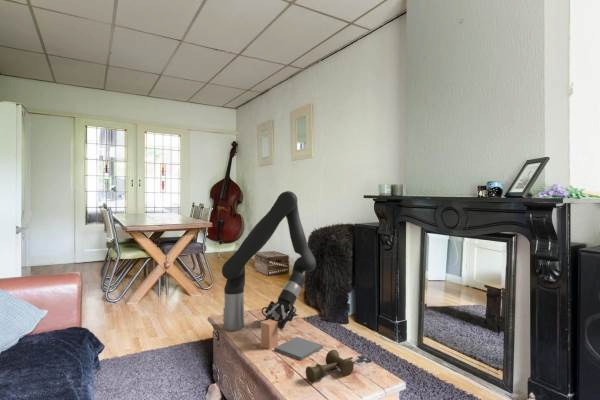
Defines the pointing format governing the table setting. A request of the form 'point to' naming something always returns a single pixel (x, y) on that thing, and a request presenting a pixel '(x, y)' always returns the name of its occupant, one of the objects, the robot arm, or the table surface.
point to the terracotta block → (269, 334)
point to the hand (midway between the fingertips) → (272, 326)
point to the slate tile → (299, 348)
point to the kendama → (330, 366)
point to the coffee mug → (275, 316)
